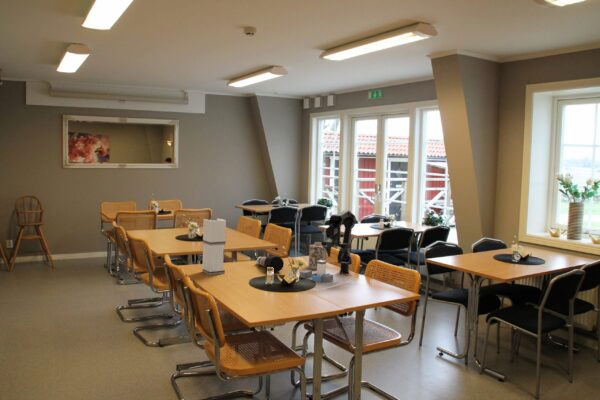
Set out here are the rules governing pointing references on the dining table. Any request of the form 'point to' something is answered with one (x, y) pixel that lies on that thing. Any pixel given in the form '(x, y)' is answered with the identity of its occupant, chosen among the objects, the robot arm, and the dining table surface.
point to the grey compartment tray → (314, 277)
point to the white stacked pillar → (213, 246)
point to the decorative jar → (316, 254)
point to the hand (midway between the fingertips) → (335, 257)
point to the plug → (321, 267)
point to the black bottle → (271, 262)
